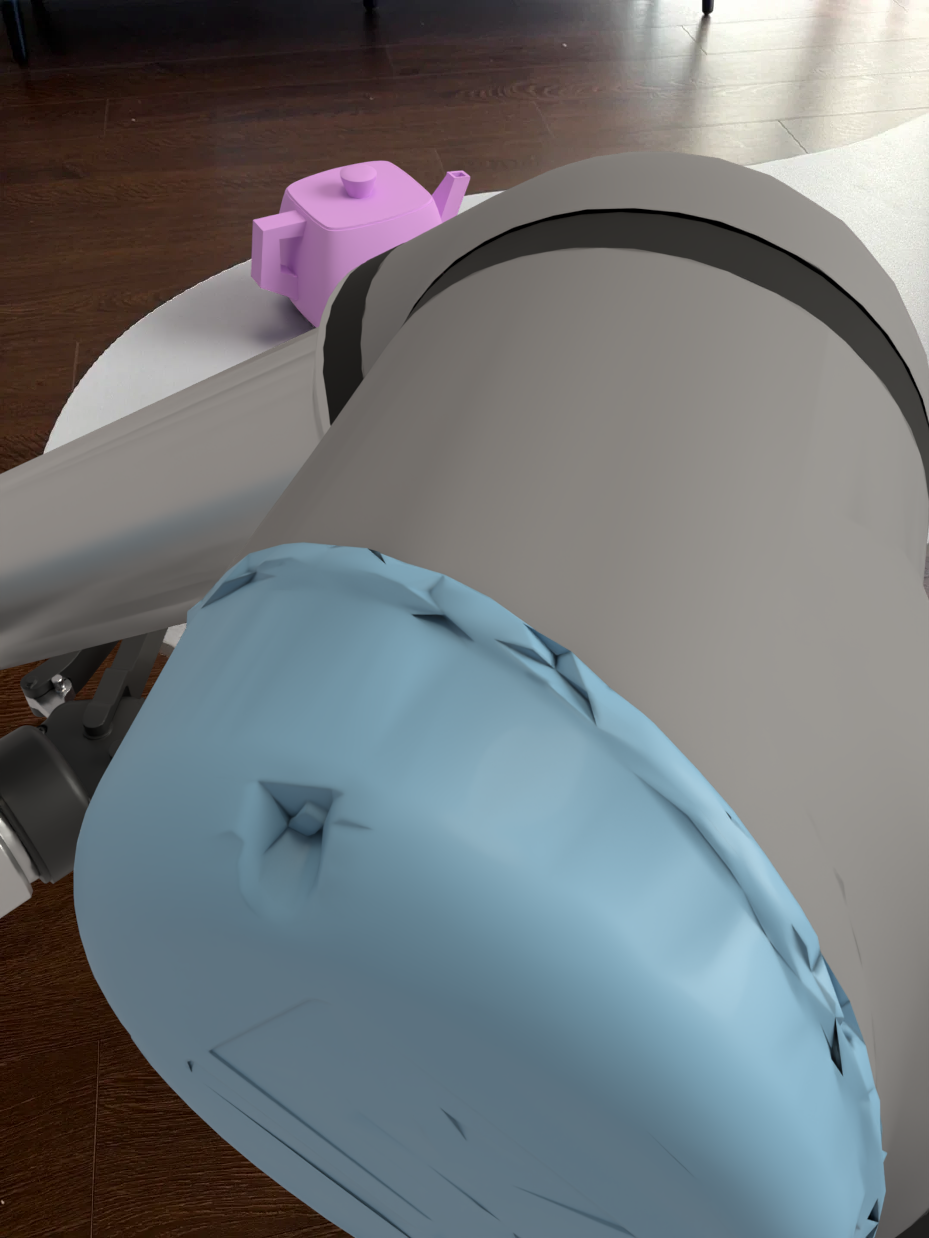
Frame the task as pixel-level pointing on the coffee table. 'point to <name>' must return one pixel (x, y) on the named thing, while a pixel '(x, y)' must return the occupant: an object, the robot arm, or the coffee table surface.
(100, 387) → the coffee table surface
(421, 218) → the teapot
